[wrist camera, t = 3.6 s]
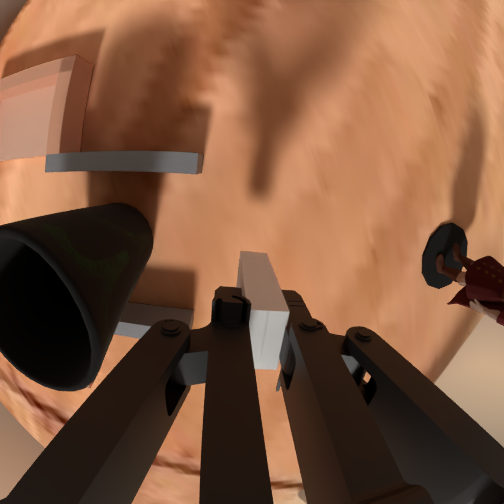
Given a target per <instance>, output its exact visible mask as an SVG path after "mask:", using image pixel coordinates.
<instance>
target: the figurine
mask: <svg viewBox="0 0 504 504" xmlns="http://www.w3.org/2000/svg"><path fill="white" fill-rule="evenodd" d="M467 243H468V242H467V239H466V236H465V233H464V230H463V229H462V228H460V227H459V226H457V225H456V224H454V223H449V224H446V225H442V226H440V227H439V228H438V229H437V230H436V231H435V232H434V234H433V235H432V236H431V237H430V238H429V240H428V243H427V245H426V248H425V250H424V253H423V255H422V274H423V276H424V278H425V280H426V282H427V284H428V285H429V286H432V287H435V288H438V289H440V288H442V287H445V286H447V285H450V284H451V283H452V282H453V281H455V282H458V283H459V284H460V285H463V286H465V287H464V288H462V289H461V290H460V291H459V292H458V293H457V294H456V295H455V297H454V298H453V299H452V300H451V301H450V302H449V303H447V304H448V305H449V304H460V305H463V306H466V307H469V308H472V309H475V310H476V311H478V312H479V313H483V314H486V315H488V316H489V317H491V318H492V319H494V320H496V321H497V323H499V324H501V325H503V326H504V267H503V266H502V265H501V264H500V263H499V262H498V261H496V260H495V259H494V258H493V257H491V256H486V257H483V258H481V259H478V260H476V261H473V260H471V259H469V258H467ZM463 266H464V267H465V269H466V270H467V271H466V272H462V271H461V270H462V267H463Z"/></svg>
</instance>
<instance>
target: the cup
mask: <svg viewBox="0 0 504 504" xmlns="http://www.w3.org/2000/svg"><path fill="white" fill-rule="evenodd" d="M152 249H153V236H152V231H151V228H150V226H149V223H148V221H147V220H146V219H145V217H144V216H143V215H142V214H141V213H140V212H139V211H138V210H137V209H135V208H134V207H132V206H130V205H127V204H123V203H112V204H106V205H99V206H93V207H87V208H81V209H76V210H70V211H65V212H59V213H54V214H49V215H44V216H39V217H35V218H30V219H26V220H21V221H17V222H13V223H8V224H4V225H0V352H1V353H2V354H3V355H4V357H5V358H6V359H7V360H8V361H9V362H10V363H11V364H12V365H13V366H14V367H15V368H16V369H17V370H19V371H20V372H21V373H23V374H24V375H25V376H27V377H28V378H30V379H31V380H33V381H35V382H37V383H39V384H41V385H42V386H44V387H48V388H51V389H54V390H58V391H77V390H81V389H84V388H86V387H87V386H88V385H90V384H91V383H92V382H93V381H94V380H95V378H96V376H97V374H98V372H99V370H100V368H101V365H102V362H103V360H104V357H105V355H106V352H107V350H108V347H109V345H110V342H111V340H112V337H113V335H114V333H115V330H116V328H117V326H118V323H119V321H120V319H121V316H122V314H123V312H124V310H125V307H126V305H127V303H128V301H129V299H130V297H131V294H132V292H133V290H134V288H135V286H136V284H137V282H138V280H139V278H140V276H141V274H142V272H143V270H144V268H145V266H146V264H147V262H148V260H149V258H150V256H151V252H152Z"/></svg>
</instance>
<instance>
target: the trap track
mask: <svg viewBox="0 0 504 504" xmlns="http://www.w3.org/2000/svg"><path fill="white" fill-rule="evenodd" d="M93 68H94V65H92V64H91V63H89V62H88V61H86V60H85V59H83V58H81V57H80V56H78V55H77V54H76V55H72V56H68V57H64V58H60V59H56V60H53V61H49V62H46V63H43V64H40V65H37V66H34V67H31V68H28V69H25V70H22V71H20V72H17V73H14V74H12V75H9V76H7V77H5V78H2V79H0V161H7V160H14V159H22V158H30V157H40V156H46V165H45V172H68V171H141V172H166V173H184V174H199V173H202V164H203V155H202V154H200V153H190V152H169V151H92V152H80V149H81V139H82V130H83V122H84V115H85V109H86V102H87V97H88V91H89V86H90V82H91V77H92V72H93ZM164 319H175V320H180V321H182V322H185V323H186V324H187V325H188V326H189V328H190V330H192V325H193V310H190V309H180V308H171V307H162V306H154V305H146V304H138V303H131V302H128V303H127V305H126V307H125V310H124V312H123V314H122V316H121V319H120V321H119V323H118V326H117V328H116V330H115V333H114V334H116V335H121V336H127V337H133V338H141V337H142V336H143V335H144V334H145V333H146V332H147V331H148V330H149V328H150V327H151V326H152V325H153V324H155V323H156V322H157V321H161V320H164ZM3 356H4V355H3ZM93 382H94V381H93ZM93 382H92V383H91V384H90V385H88V386H87V387H88V388H91V386H92V384H93Z"/></svg>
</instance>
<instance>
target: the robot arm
mask: <svg viewBox="0 0 504 504" xmlns="http://www.w3.org/2000/svg"><path fill="white" fill-rule="evenodd" d="M279 359H280V363H281V371H280V375H279V379H278V383H277V387H276V391H279V389H280V386H281V388H282V392H283V397H284V401H285V405H286V410H287V414H288V419H289V423H290V428H291V432H292V437H293V441H294V446H295V450H296V455H297V459H298V464H299V468H300V473H301V477H302V482H303V486H304V490H305V495H306V499H307V504H504V448H503V447H502V446H501V445H500V444H499V443H498V442H497V441H496V440H495V439H494V438H493V437H492V436H491V435H489V433H487V432H486V431H485V430H484V429H483V428H482V427H481V426H480V425H479V424H478V423H477V422H476V421H474V420H473V419H472V418H471V417H470V416H469V415H468V414H467V413H466V412H465V411H464V410H462V409H461V408H460V407H459V406H458V405H457V404H456V403H455V402H453V400H451V399H450V398H449V397H448V396H447V395H446V394H445V393H444V392H442V391H441V390H440V389H439V388H438V387H437V386H436V385H435V384H434V383H432V382H431V381H430V380H429V379H428V378H427V377H426V376H424V375H423V374H422V373H421V372H420V371H419V370H418V369H417V368H415V367H414V366H413V365H412V364H411V363H410V362H409V361H407V360H406V359H405V358H404V357H403V356H402V355H401V354H399V353H398V352H397V351H396V350H395V349H394V348H392V347H391V346H390V345H389V344H388V343H387V342H386V341H384V340H383V339H382V338H381V337H380V336H379V335H377V334H376V333H375V332H373V331H372V330H370V329H367V328H366V327H360V326H359V327H351V328H349V329H348V330H347V332H346V335H345V336H341V335H336V334H331V333H329V332H328V330H327V328H326V326H325V325H324V324H323V323H322V322H320V321H319V320H316V319H313V318H312V317H311V315H310V313H309V311H308V309H307V307H306V305H305V303H304V301H303V299H302V297H301V295H299V294H298V293H297V292H295V291H292V290H281V288H280V286H279V283H278V281H277V278H276V275H275V273H274V270H273V268H272V265H271V263H270V260H269V258H268V255H267V253H259V252H248V251H240V259H239V268H238V278H237V288H236V287H223V286H220V287H219V288H218V289H216V290H215V296H214V299H213V300H212V315H211V322H210V324H209V325H207V326H205V327H203V328H200V329H193V330H190V328H189V326H188V325H187V324H186V323H185V322H182V321H180V320H175V319H164V320H161V321H157V322H156V323H155V324H153V325H152V326H151V327H150V328H149V330H148V331H147V332H146V333H145V334H144V335H143V336H142V337H141V338H140V339H139V341H138V342H137V343H136V344H135V345H134V346H133V347H132V348H131V349H130V351H129V352H128V353H127V354H126V355H125V356H124V357H123V358H122V360H121V361H120V362H119V363H118V364H117V365H116V366H115V367H114V369H113V370H112V371H111V372H110V373H109V374H108V375H107V376H106V378H105V379H104V380H103V381H102V382H101V383H100V384H99V386H98V387H97V388H96V389H95V390H94V391H93V393H92V394H91V395H90V396H89V397H88V398H87V399H86V401H85V402H84V403H83V404H82V405H81V406H80V408H79V409H78V410H77V411H76V412H75V413H74V415H73V416H72V417H71V418H70V419H69V421H68V422H67V423H66V424H65V425H64V426H63V428H62V429H61V430H60V431H59V432H58V434H57V435H56V436H55V437H54V438H53V440H52V441H51V442H50V443H49V444H48V446H47V447H46V448H45V449H44V451H43V452H42V453H41V454H40V456H39V457H38V458H37V459H36V460H35V462H34V463H33V464H32V466H31V467H30V468H29V469H28V470H27V472H26V473H25V474H24V475H23V477H22V478H21V479H20V481H19V482H18V483H17V484H16V486H15V487H14V488H13V490H12V491H11V492H10V493H9V495H8V496H7V497H6V498H4V499H2V500H0V504H131V503H132V501H133V499H134V497H135V496H136V494H137V492H138V490H139V488H140V486H141V484H142V482H143V480H144V478H145V476H146V474H147V472H148V471H149V469H150V467H151V465H152V463H153V461H154V459H155V457H156V455H157V453H158V451H159V449H160V447H161V445H162V443H163V441H164V440H165V438H166V436H167V434H168V432H169V430H170V428H171V426H172V424H173V422H174V420H175V418H176V416H177V414H178V412H179V410H180V408H181V406H182V404H183V402H184V400H185V398H186V396H187V394H188V393H189V391H190V388H191V385H195V384H201V383H206V385H205V399H204V413H203V429H202V447H201V469H200V498H199V504H273V497H272V490H271V484H270V477H269V470H268V463H267V456H266V449H265V442H264V435H263V428H262V420H261V413H260V406H259V398H258V391H257V383H256V376H255V369H277V368H278V364H279ZM366 371H367V372H368V373H369V374H370V375H371V378H370V380H369V382H368V383H367V382H365V381H364V380H363V378H364V376H365V374H366Z"/></svg>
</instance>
